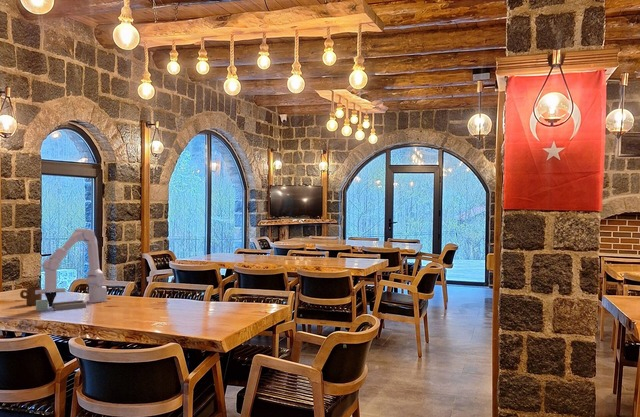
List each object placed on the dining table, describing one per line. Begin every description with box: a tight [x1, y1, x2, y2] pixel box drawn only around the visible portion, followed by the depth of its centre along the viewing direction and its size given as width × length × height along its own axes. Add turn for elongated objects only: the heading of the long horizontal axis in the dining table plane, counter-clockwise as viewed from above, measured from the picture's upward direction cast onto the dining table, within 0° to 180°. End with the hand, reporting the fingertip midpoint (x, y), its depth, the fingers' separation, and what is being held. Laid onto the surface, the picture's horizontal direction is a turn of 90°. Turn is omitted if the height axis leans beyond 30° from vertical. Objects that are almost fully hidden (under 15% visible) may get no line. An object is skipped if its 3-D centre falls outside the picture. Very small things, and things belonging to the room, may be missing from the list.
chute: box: [51, 299, 87, 311], centre depth 294 cm, size 16×10×2 cm, turn 125°
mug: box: [19, 286, 43, 306], centre depth 299 cm, size 12×8×9 cm, turn 153°
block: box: [35, 299, 49, 312], centre depth 286 cm, size 5×5×5 cm
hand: (50, 306), depth 289 cm, fingers closed
